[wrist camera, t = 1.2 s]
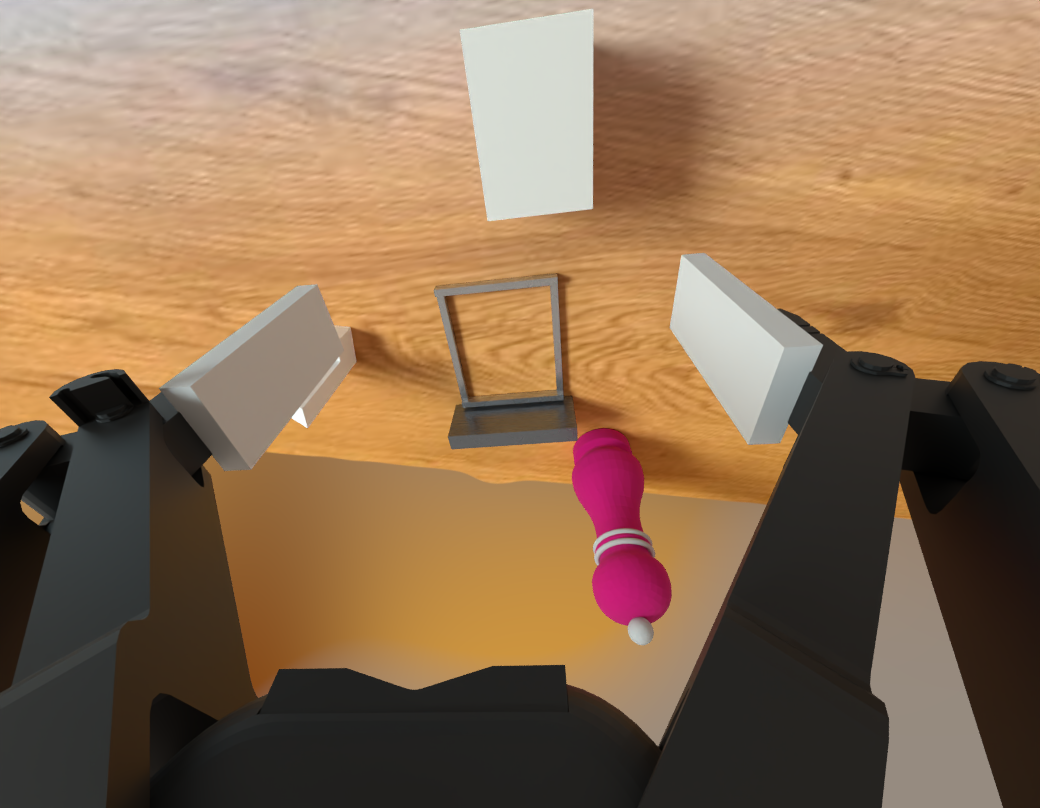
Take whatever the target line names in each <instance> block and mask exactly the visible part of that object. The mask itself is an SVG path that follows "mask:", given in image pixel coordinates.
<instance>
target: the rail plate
mask: <svg viewBox="0 0 1040 808" xmlns="http://www.w3.org/2000/svg"><path fill="white" fill-rule="evenodd" d="M549 285H550V291H551V306H552V322H553V337H554V353H555V369H556V384H557V390H548V391H536V392H523V393H510V394H498V395H485V396H473V397H469V396H468V391H467V387H466V383H465V378H464V374H463V370H462V365H461V361H460V357H459V352H458V348H457V344H456V340H455V335H454V331H453V327H452V322H451V318H450V314H449V309H448V305H447V301H446V296H450V295H460V294H470V293H480V292H490V291H500V290H509V289H519V288H529V287H539V286H549ZM434 294H435V297H437V300H438V304H439V308H440V312H441V317H442V321H443V325H444V329H445V333H446V337H447V341H448V345H449V349H450V353H451V357H452V361H453V365H454V369H455V374H456V378H457V382H458V386H459V390H460V394H461V398H462V405H456V408H455V411H454V415H453V419H452V423H451V427H450V431H449V434H448V439H449V442H450V446H451V449H463V448H478V447H492V446H507V445H522V444H537V443H551V442H566V441H577V424H576V418H575V411H574V405H573V398H572V396H565V397H564V395H563V378H562V359H561V340H560V321H559V301H558V278H557V273H555V274H545V275H536V276H526V277H516V278H507V279H497V280H487V281H478V282H468V283H458V284H449V285H439V286H436V287H435V288H434Z"/></svg>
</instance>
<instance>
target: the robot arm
mask: <svg viewBox="0 0 1040 808" xmlns="http://www.w3.org/2000/svg"><path fill="white" fill-rule="evenodd" d="M670 329H671V330H672V332H673V333H674V335H675V336H676V338H677V339H678V341H679V342H680V344H681V345H682V347H683V348H684V350H685V351H686V353H687V354H688V356H689V357H690V359H691V360H692V362H693V363H694V365H695V366H696V368H697V369H698V371H699V372H700V373H701V375H702V376H703V378H704V379H705V381H706V382H707V384H708V385H709V387H710V388H711V390H712V391H713V393H714V394H715V396H716V397H717V399H718V400H719V402H720V403H721V405H722V406H723V408H724V409H725V411H726V412H727V414H728V415H729V417H730V418H731V420H732V421H733V423H734V424H735V426H736V427H737V429H738V430H739V432H740V433H741V435H742V436H743V438H744V439H745V441H746V442H747V444H748V445H753V444H773V443H780V442H781V440H782V437H783V435H784V433H785V431H786V428H787V426H788V424H789V425H790V426H791V427H792V428H793V429H794V431H795V432H796V433H797V434H798V437H797V439H796V441H795V443H794V445H793V447H792V449H791V451H790V454H789V456H788V458H787V460H786V462H785V464H784V466H783V470H782V472H781V474H780V476H779V479H778V481H777V483H776V485H775V488H774V490H773V492H772V494H771V497H770V499H769V501H768V503H767V506H766V508H765V510H764V512H763V515H762V517H761V519H760V521H759V523H758V526H757V528H756V530H755V532H754V535H753V537H752V539H751V541H750V544H749V546H748V548H747V551H746V553H745V555H744V557H743V559H742V562H741V564H740V566H739V568H738V571H737V573H736V575H735V577H734V579H733V582H732V584H731V586H730V589H729V591H728V593H727V595H726V597H725V600H724V602H723V604H722V606H721V609H720V611H719V613H718V616H717V618H716V620H715V622H714V624H713V627H712V629H711V631H710V633H709V636H708V638H707V640H706V642H705V644H704V647H703V649H702V651H701V654H700V656H699V658H698V660H697V662H696V665H695V667H694V669H693V671H692V674H691V676H690V678H689V680H688V683H687V685H686V687H685V689H684V691H683V693H682V696H681V698H680V700H679V702H678V704H677V706H676V709H675V711H674V713H673V715H672V717H671V719H670V722H669V724H668V726H667V729H666V731H665V733H664V735H663V737H662V739H661V742H660V744H659V746H657V745H656V744H655V743H654V742H653V741H652V740H651V739H650V738H649V737H648V735H646V733H645V732H644V731H643V730H642V729H641V728H640V727H639V726H638V725H637V724H635V722H633V721H632V720H631V719H629V718H628V717H627V716H626V715H625V714H624V713H623V712H621V711H620V710H619V709H617V708H616V707H614V706H613V705H611V704H610V703H608V702H607V701H605V700H603V699H602V698H600V697H598V696H596V695H594V694H591V693H589V692H587V691H585V690H583V689H580V688H577V687H574V686H570V685H567V684H566V673H565V665H542V666H541V665H538V666H537V665H533V666H492V667H488V668H485V669H482V670H479V671H476V672H472V673H469V674H466V675H463V676H460V677H457V678H454V679H450V680H447V681H444V682H441V683H438V684H435V685H432V686H429V687H426V688H423V689H418V690H410V689H406V688H403V687H400V686H397V685H394V684H391V683H388V682H385V681H382V680H380V679H376V678H374V677H371V676H368V675H365V674H362V673H359V672H356V671H353V670H350V669H347V668H335V669H334V668H333V669H332V668H329V669H279V671H278V673H277V675H276V677H275V680H274V682H273V684H272V686H271V688H270V691H269V693H268V694H267V695H265V696H262V697H260V698H258V697H257V696H256V694H255V692H254V689H253V687H252V683H251V680H250V674H249V669H248V665H247V659H246V654H245V649H244V644H243V638H242V633H241V628H240V623H239V618H238V613H237V607H236V602H235V597H234V592H233V587H232V582H231V577H230V571H229V566H228V561H227V556H226V551H225V546H224V541H223V535H222V531H221V525H220V520H219V515H218V510H217V505H216V500H215V494H214V489H213V484H212V479H211V475H210V474H209V472H208V471H207V470H206V469H205V467H204V466H203V464H204V463H205V462H206V461H207V459H208V458H209V457H210V456H211V455H212V456H213V457H214V458H215V460H216V461H217V462H218V463H219V464H220V466H221V467H222V468H223V470H224V471H229V470H230V471H231V470H251V469H252V468H253V466H254V465H255V464H256V462H257V461H258V460H259V459H260V457H261V456H262V455H263V454H264V452H265V451H266V450H267V448H268V447H269V446H270V445H271V443H272V442H273V441H274V439H275V438H276V437H277V436H278V434H279V433H280V432H281V431H282V429H283V428H284V427H285V425H286V424H287V423H288V422H289V420H290V419H291V418H292V416H293V415H294V414H295V413H296V411H297V410H298V409H299V407H300V406H301V405H302V404H303V402H304V401H305V400H306V399H307V397H308V396H309V395H310V393H311V392H312V391H313V390H314V388H315V387H316V386H317V384H318V383H319V382H320V381H321V379H322V378H323V377H324V376H325V374H326V373H327V372H328V370H329V369H330V368H331V367H332V365H333V364H334V363H335V361H336V360H337V359H338V358H339V356H340V355H341V354H342V352H343V351H344V349H343V346H342V344H341V341H340V339H339V336H338V334H337V332H336V329H335V327H334V324H333V322H332V319H331V317H330V314H329V312H328V310H327V307H326V305H325V302H324V300H323V297H322V295H321V293H320V290H319V288H318V285H317V284H316V285H304V286H297V287H295V288H294V289H293V290H291V291H290V292H289V293H287V294H286V295H284V296H283V297H282V298H280V299H279V300H278V301H276V302H275V303H274V304H272V305H271V306H270V307H268V308H267V309H266V310H264V311H263V312H262V313H260V314H259V315H257V316H256V317H255V318H253V319H252V320H251V321H249V322H248V323H247V324H245V325H244V326H243V327H241V328H240V329H239V330H237V331H236V332H234V333H233V334H232V335H230V336H229V337H228V338H226V339H225V340H224V341H222V342H221V343H220V344H218V345H217V346H216V347H214V348H213V349H211V350H210V351H209V352H207V353H206V354H205V355H203V356H202V357H201V358H199V359H198V360H197V361H195V362H194V363H193V364H191V365H190V366H188V367H187V368H186V369H184V370H183V371H182V372H180V373H179V374H178V375H176V376H175V377H174V378H172V379H171V380H170V381H168V382H167V383H165V384H164V385H163V386H161V387H160V388H159V389H160V390H161V393H159V394H158V395H157V396H156V397H154V398H153V399H152V400H150V401H149V400H148V399H147V398H146V397H145V395H144V394H143V393H142V392H141V391H140V389H139V388H138V387H137V386H136V385H135V383H134V382H133V381H132V380H131V379H130V377H129V376H128V375H127V374H126V373H125V371H124V370H119V369H114V370H105V371H101V372H97V373H94V374H90V375H87V376H85V377H82V378H79V379H77V380H74V381H72V382H70V383H68V384H66V385H64V386H62V387H61V388H59V389H58V390H56V391H55V392H54V393H53V394H52V395H51V396H50V397H49V398H50V399H51V400H52V401H53V402H54V403H55V404H56V405H57V406H58V407H59V408H60V409H62V410H63V411H64V412H65V413H66V414H67V415H68V416H69V417H70V418H71V419H72V420H73V421H74V422H75V423H76V424H77V425H78V426H79V428H78V432H74V433H70V434H65V435H61V436H60V435H59V434H58V433H57V432H56V431H55V430H54V429H52V428H51V427H50V426H49V425H48V424H47V423H46V422H45V421H37V420H35V421H30V422H25V423H21V424H18V425H15V426H12V425H10V426H7V427H4V428H2V429H0V808H882V799H883V790H884V779H885V771H886V762H887V753H888V743H889V717H888V714H887V710H886V707H885V703H884V702H882V701H881V700H880V699H878V698H877V697H876V696H875V695H873V694H872V691H871V688H870V676H871V668H872V661H873V654H874V648H875V641H876V635H877V628H878V621H879V614H880V608H881V601H882V595H883V588H884V581H885V575H886V568H887V560H888V554H889V547H890V541H891V534H892V527H893V521H894V515H895V508H896V501H897V494H898V488H899V481H900V484H901V487H902V490H903V493H904V496H905V499H906V503H907V506H908V509H909V512H910V515H911V518H912V521H913V525H914V528H915V531H916V534H917V537H918V540H919V544H920V547H921V550H922V553H923V555H924V559H925V562H926V566H927V569H928V572H929V575H930V578H931V581H932V585H933V588H934V591H935V594H936V597H937V600H938V603H939V606H940V610H941V613H942V616H943V619H944V622H945V625H946V629H947V632H948V635H949V638H950V641H951V644H952V647H953V651H954V654H955V657H956V660H957V663H958V667H959V670H960V673H961V676H962V679H963V682H964V686H965V689H966V691H967V695H968V698H969V701H970V704H971V707H972V711H973V714H974V717H975V720H976V723H977V726H978V730H979V733H980V736H981V739H982V742H983V745H984V749H985V752H986V755H987V758H988V761H989V764H990V768H991V770H992V774H993V777H994V780H995V783H996V786H997V789H998V792H999V796H1000V799H1001V802H1002V805H1003V808H1040V374H1039V373H1037V372H1036V371H1035V370H1033V369H1030V368H1027V367H1024V368H1022V366H1020V365H1016V364H1003V363H997V362H982V361H979V362H971V363H967V364H966V365H964V366H963V367H961V369H960V370H959V372H958V373H957V374H956V376H955V377H954V379H953V380H952V381H951V382H947V381H937V380H927V379H918V378H915V375H914V372H913V370H912V369H911V368H909V367H908V366H907V365H906V364H904V363H902V362H900V361H898V360H896V359H893V358H891V357H887V356H884V355H880V354H876V353H869V352H862V351H855V352H847V351H845V350H844V349H843V348H841V347H840V346H839V345H837V344H836V343H835V342H833V341H832V340H831V339H829V338H828V337H826V336H825V335H824V334H820V331H818V330H817V329H816V328H814V327H813V326H810V324H809V323H807V322H806V321H805V320H803V319H802V318H801V317H799V316H798V315H795V314H793V313H790V312H788V311H785V310H783V309H776V308H775V307H773V306H772V305H771V304H770V303H768V302H767V301H766V300H764V299H763V298H762V297H761V296H759V295H758V294H757V293H755V292H754V291H753V290H751V289H750V288H749V287H748V286H746V285H745V284H744V283H742V282H741V281H740V280H739V279H737V278H736V277H735V276H733V275H732V274H731V273H730V272H728V271H727V270H726V269H724V268H723V267H722V266H721V265H719V264H718V263H717V262H715V261H714V260H713V259H712V258H710V257H709V256H708V255H706V254H705V253H698V254H685V255H682V256H681V262H680V268H679V274H678V280H677V286H676V292H675V299H674V305H673V311H672V317H671V323H670ZM21 500H22V501H23V502H25V503H26V504H27V505H29V506H30V507H31V508H33V509H34V510H35V511H37V512H38V513H39V514H41V515H42V516H43V517H44V519H43V520H42V521H41V523H40V524H39V525H37V524H36V523H35V522H33V521H32V520H30V519H29V518H28V517H27V516H26V515H25V514H24V513H23V511H22V508H21V504H20V502H21Z"/></svg>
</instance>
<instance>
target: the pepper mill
mask: <svg viewBox="0 0 1040 808" xmlns="http://www.w3.org/2000/svg"><path fill="white" fill-rule="evenodd" d="M573 455H574V462H575V467H574V469H573V472H572V482H573V486H574V491H575V493H576V495H577V497H578V499H579V501H580V503H581V504H582V505H583V507H584V508H585V510H586V511H587V512H588V514H589V515H590V517H591V519H592V521H593V523H594V526H595V530H596V534H597V539H596V541H595V543H594V545H593V551H594V554H595V562H596V564H597V568H596V570H595V572H594V574H593V579H592V585H593V593H594V596H595V599H596V602H597V604H598V606H599V607H600V609H601V610H602V612H603V613H604V614H605V615H606V616H608V617H609V618H610V619H612V620H613V621H615V622H617V623H619V624H623V625H627V626H628V633H629V636H630V638H631V639H632V640H633V641H634V642H636V643H637V644H639V645H646V644H648V643H650V642H651V640H652V638H653V634H654V632H653V627H652V625H651V623H652V622H655V621H656V620H658V619H659V618H660V617H662V616H663V615H664V613H665V612H666V611H667V609H668V607H669V605H670V601H671V596H672V595H671V583H670V580H669V577H668V574H667V572H666V569H665V568H664V567H663V565H662V564H661V563H660V562H659V561H658V560H656V559H655V558H654V557H655V551H654V549H653V547H652V541H651V539H650V537H649V536H648V535H647V534H645V533H644V532H643V529H642V527H641V522H640V514H639V513H640V503H641V498H642V495H643V491H644V475H643V471H642V467H641V465H640V463H639V461H638V460H637V459H636V457H634V456H633V455H632V451H631V448H630V445H629V442H628V440H627V438H626V437H625V436H624V435H623V434H622V433H620V432H618V431H616V430H613V429H606V428H602V429H595V430H592V431H589V432H587V433H585V434H584V435H582V436H581V437H580V438H579V439H578V440H577V441H576V443H575V445H574V448H573Z"/></svg>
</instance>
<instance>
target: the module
mask: <svg viewBox="0 0 1040 808" xmlns="http://www.w3.org/2000/svg"><path fill="white" fill-rule="evenodd" d="M460 35H461V42H462V49H463V56H464V63H465V70H466V76H467V83H468V90H469V97H470V104H471V110H472V117H473V124H474V131H475V138H476V144H477V151H478V158H479V165H480V172H481V179H482V185H483V192H484V199H485V206H486V213H487V219H488V221H494V220H502V219H511V218H519V217H528V216H537V215H545V214H554V213H562V212H571V211H579V210H588V209H593V9H588V10H581V11H575V12H569V13H562V14H556V15H550V16H544V17H537V18H531V19H525V20H518V21H512V22H506V23H500V24H493V25H487V26H481V27H474V28H468V29H462V30H460Z"/></svg>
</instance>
